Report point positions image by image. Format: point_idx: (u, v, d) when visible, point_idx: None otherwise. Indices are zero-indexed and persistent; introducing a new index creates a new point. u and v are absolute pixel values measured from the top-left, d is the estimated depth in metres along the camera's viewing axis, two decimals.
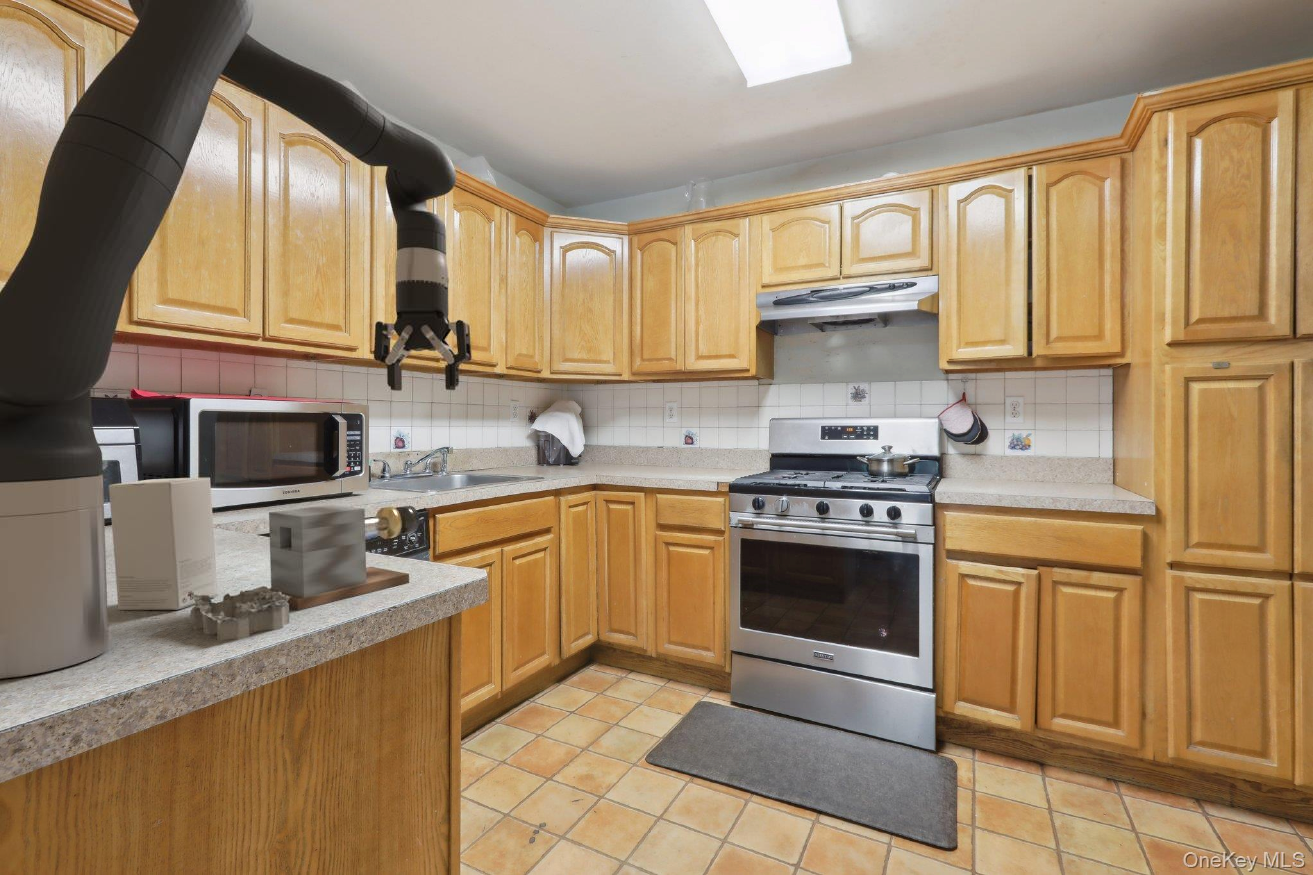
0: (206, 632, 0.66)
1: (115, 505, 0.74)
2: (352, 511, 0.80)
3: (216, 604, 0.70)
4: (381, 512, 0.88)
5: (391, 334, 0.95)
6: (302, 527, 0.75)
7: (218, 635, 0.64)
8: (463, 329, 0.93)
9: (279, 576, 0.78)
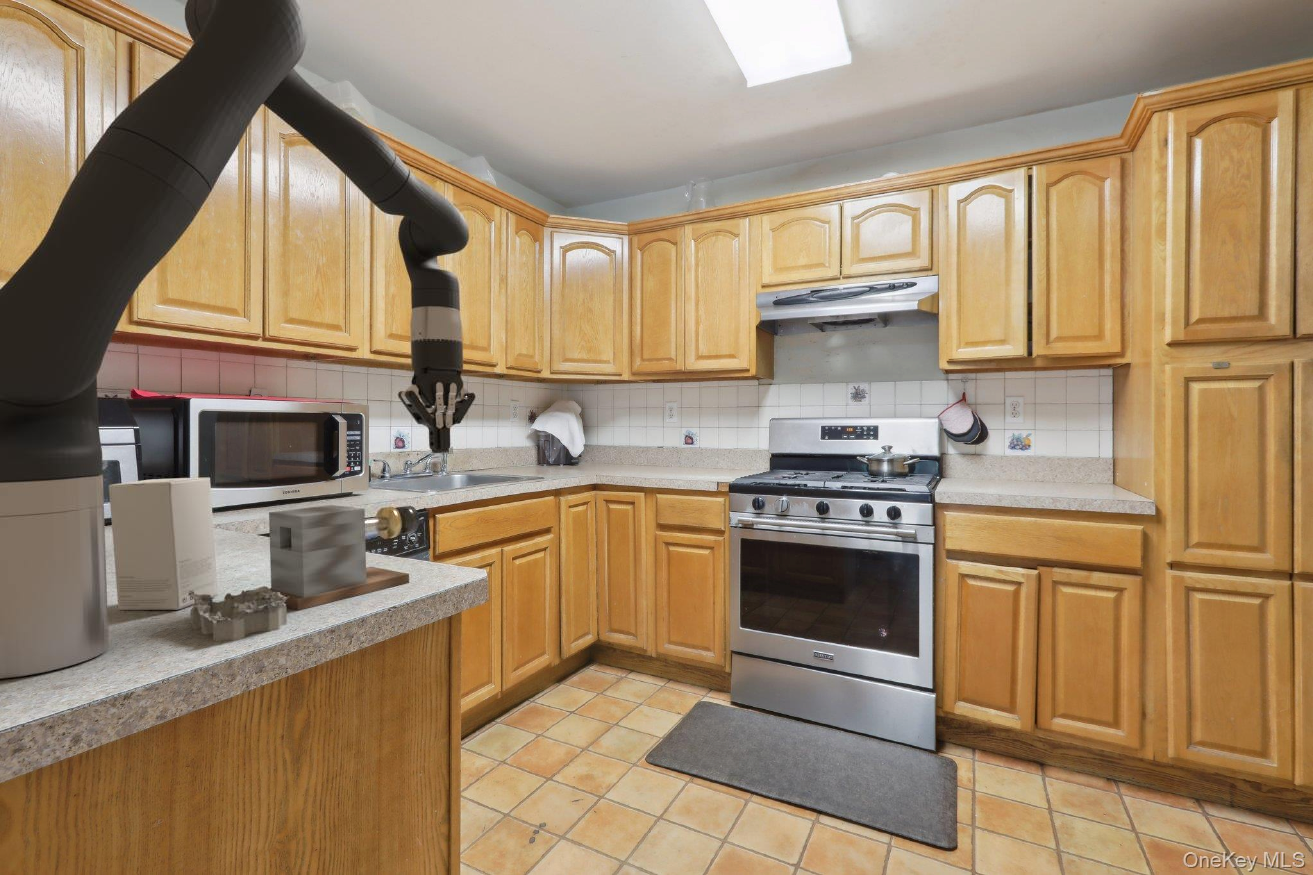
0: (204, 632, 0.66)
1: (115, 505, 0.74)
2: (352, 511, 0.80)
3: (217, 603, 0.70)
4: (381, 512, 0.88)
5: None
6: (302, 527, 0.75)
7: (214, 635, 0.64)
8: (471, 402, 1.00)
9: (279, 576, 0.78)
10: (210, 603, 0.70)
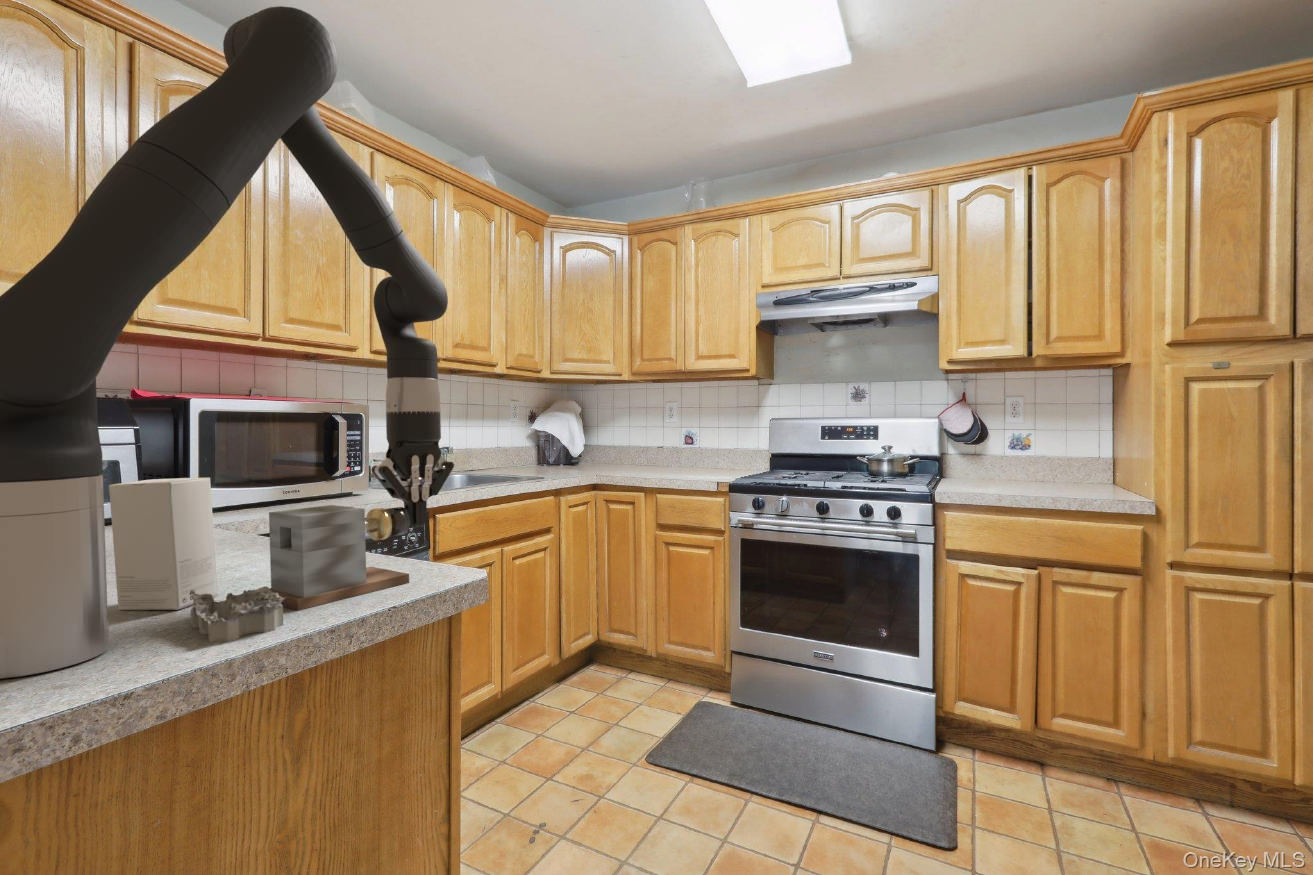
0: (201, 632, 0.66)
1: (115, 505, 0.74)
2: (352, 511, 0.80)
3: (217, 603, 0.71)
4: (372, 513, 0.87)
5: (391, 469, 0.89)
6: (302, 527, 0.75)
7: (209, 635, 0.64)
8: (449, 471, 0.96)
9: (279, 576, 0.78)
10: (211, 603, 0.71)
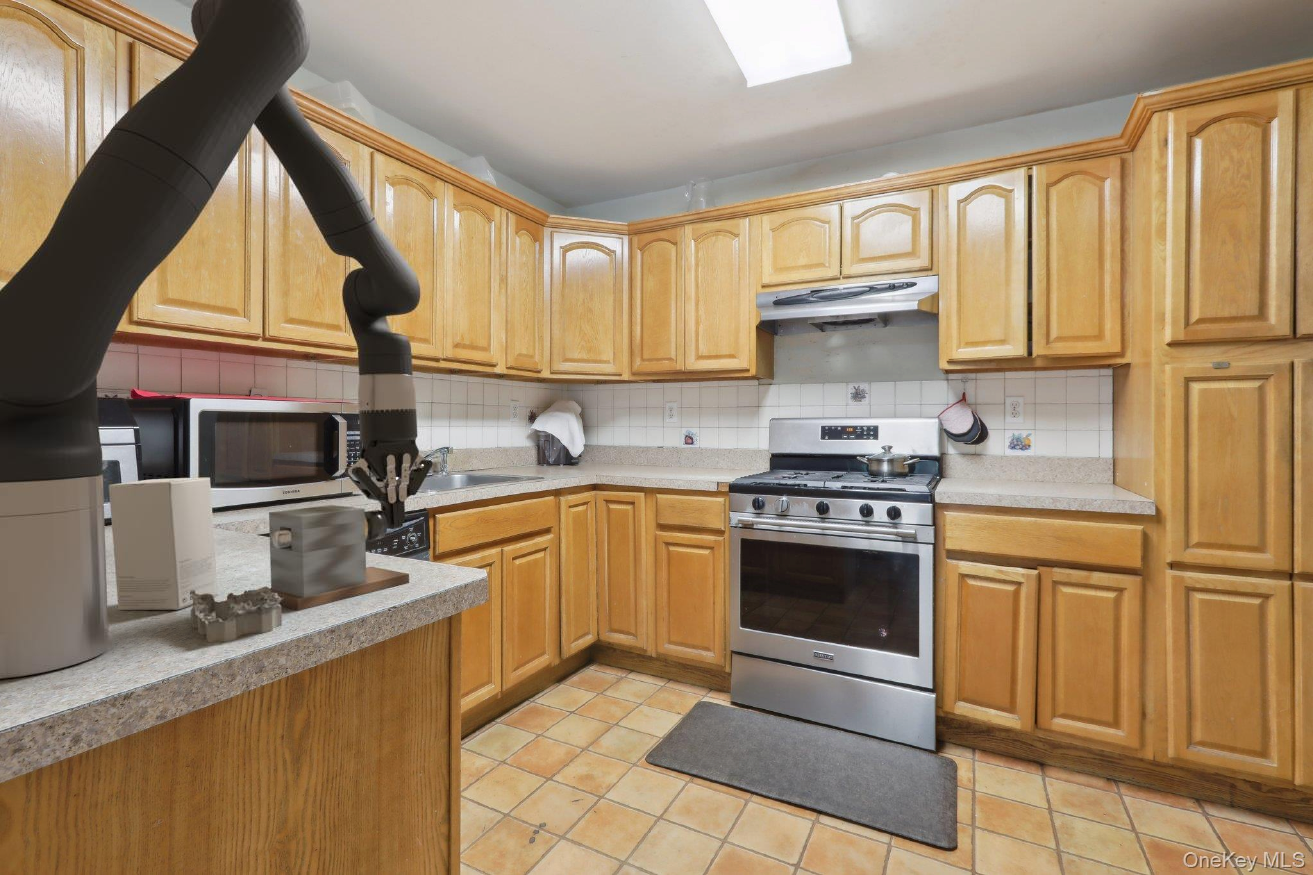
0: (200, 632, 0.66)
1: (115, 505, 0.74)
2: (352, 511, 0.80)
3: (218, 603, 0.71)
4: None
5: None
6: (302, 527, 0.75)
7: (207, 636, 0.64)
8: (428, 470, 0.93)
9: (279, 576, 0.78)
10: (212, 602, 0.71)
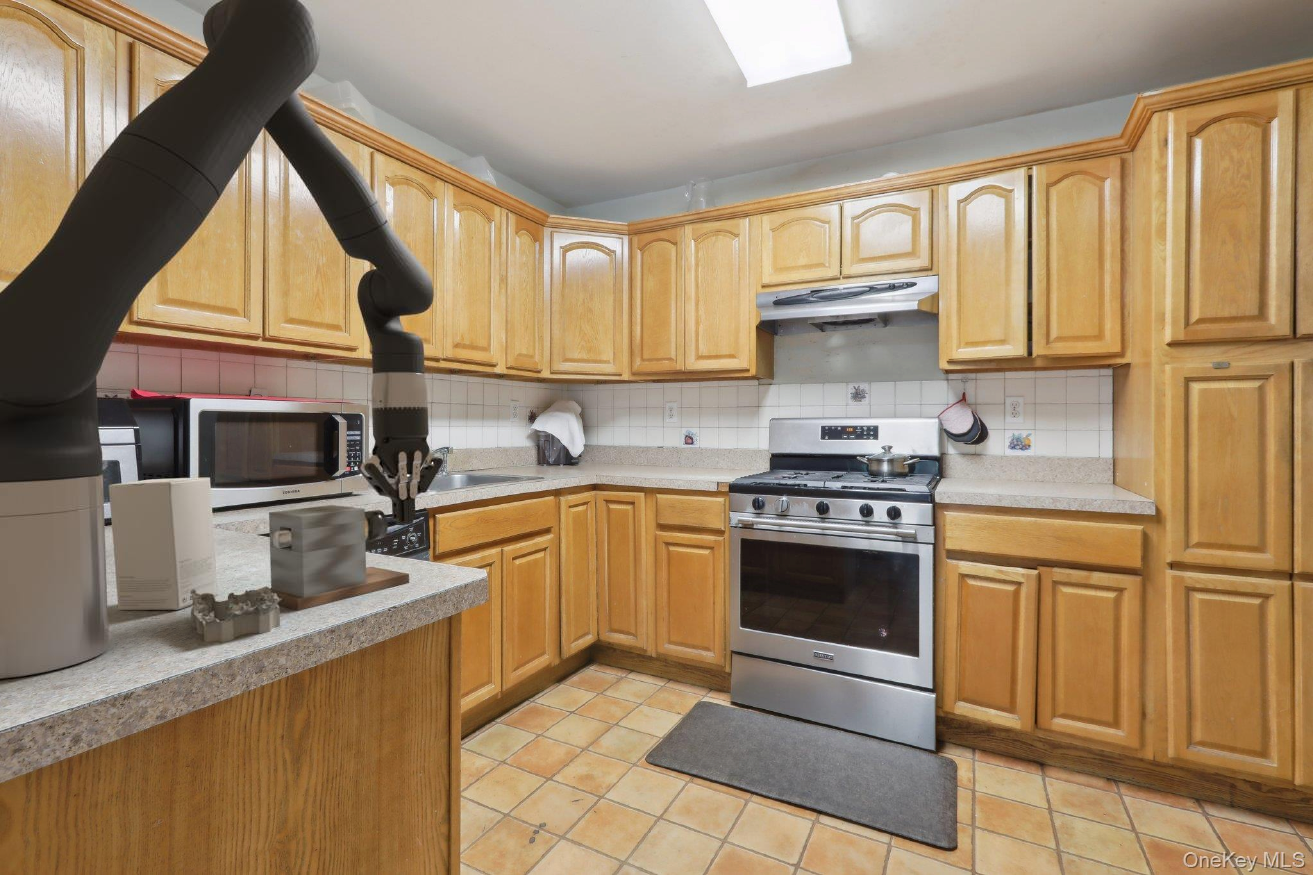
0: (199, 632, 0.66)
1: (115, 505, 0.74)
2: (352, 511, 0.80)
3: (218, 603, 0.71)
4: None
5: None
6: (302, 527, 0.75)
7: (204, 636, 0.64)
8: (438, 468, 0.94)
9: (279, 576, 0.78)
10: (212, 602, 0.71)
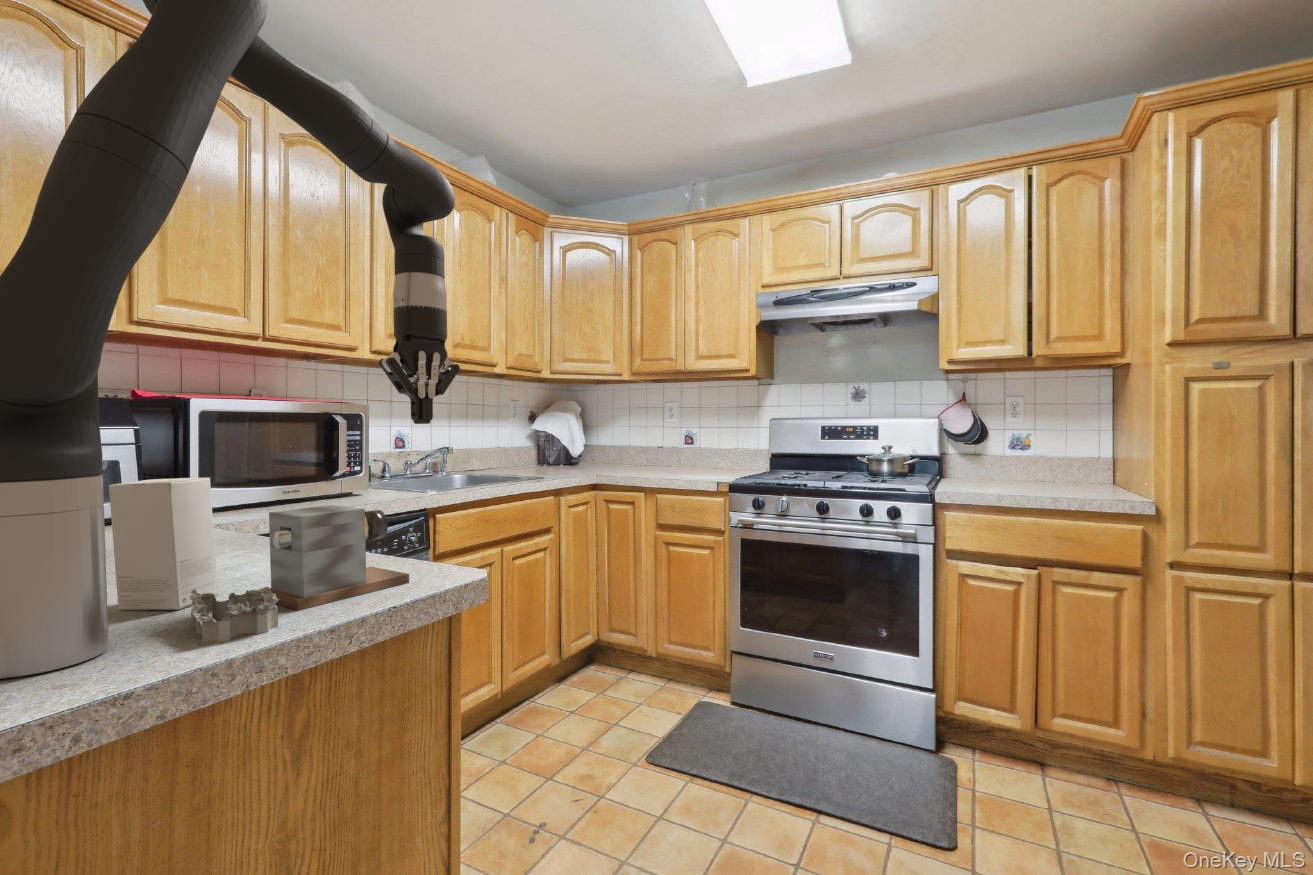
0: (198, 631, 0.66)
1: (115, 505, 0.74)
2: (352, 511, 0.80)
3: (219, 603, 0.71)
4: None
5: None
6: (302, 527, 0.75)
7: (202, 636, 0.64)
8: (455, 374, 0.97)
9: (279, 576, 0.78)
10: (213, 602, 0.71)
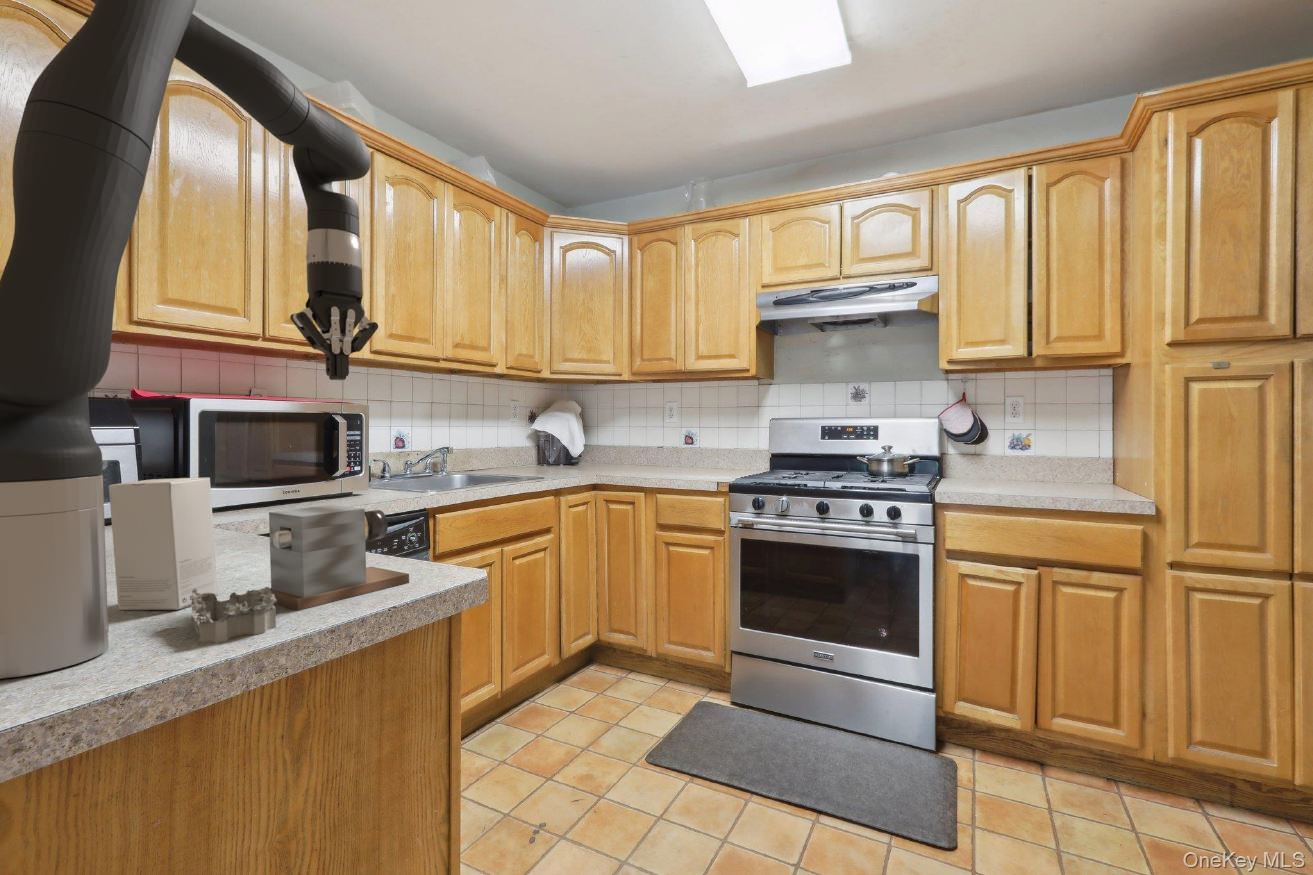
0: (196, 631, 0.66)
1: (115, 505, 0.74)
2: (352, 511, 0.80)
3: (219, 602, 0.71)
4: None
5: None
6: (302, 527, 0.75)
7: (199, 636, 0.64)
8: (373, 332, 0.98)
9: (279, 576, 0.78)
10: (214, 602, 0.71)
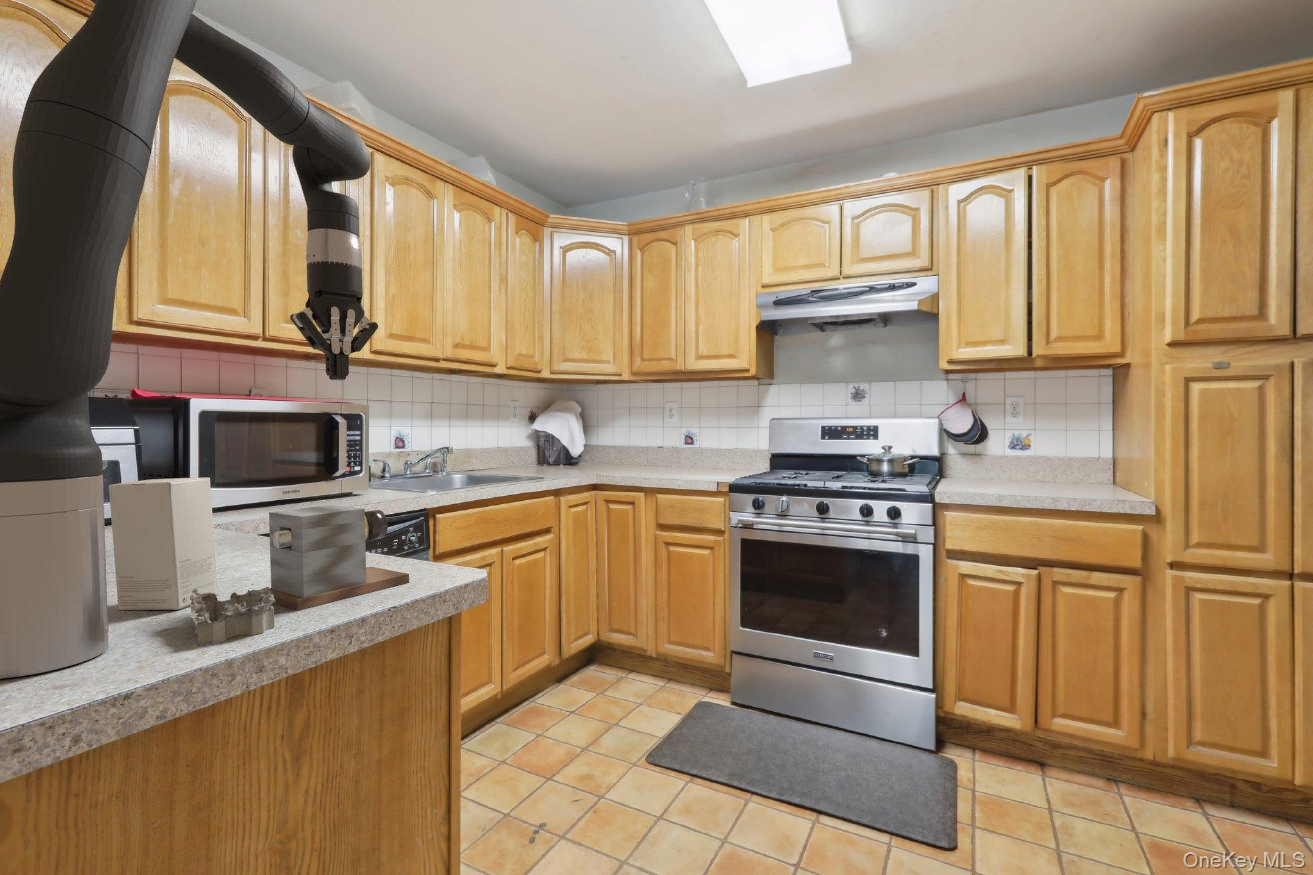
0: (196, 631, 0.66)
1: (115, 505, 0.74)
2: (352, 511, 0.80)
3: (220, 602, 0.71)
4: None
5: None
6: (302, 527, 0.75)
7: (198, 636, 0.64)
8: (373, 332, 0.98)
9: (279, 576, 0.78)
10: (214, 602, 0.71)
